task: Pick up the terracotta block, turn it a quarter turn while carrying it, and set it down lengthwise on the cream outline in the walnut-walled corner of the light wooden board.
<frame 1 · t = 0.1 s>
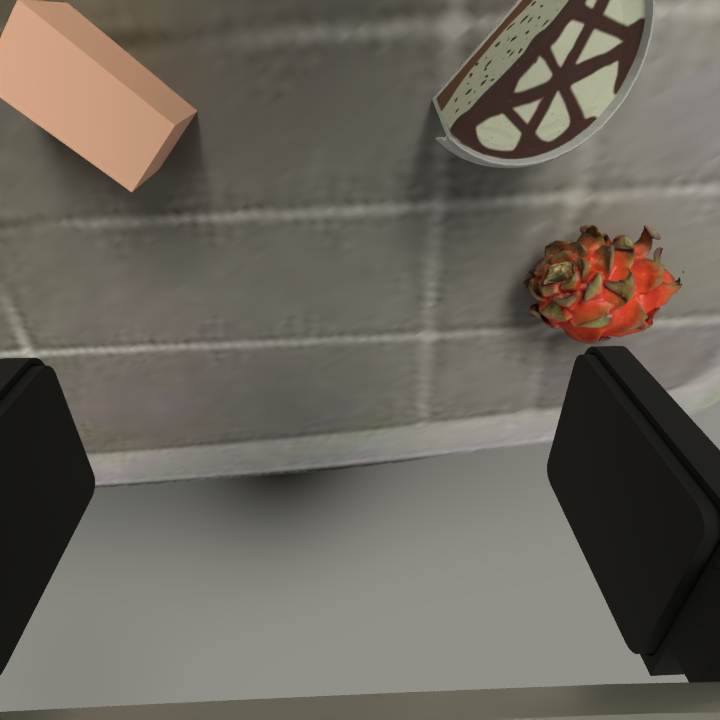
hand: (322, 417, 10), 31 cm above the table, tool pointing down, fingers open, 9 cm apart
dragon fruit: (582, 265, 42), on the table
terracotta block: (117, 92, 34), on the table
food container: (513, 75, 35), on the table
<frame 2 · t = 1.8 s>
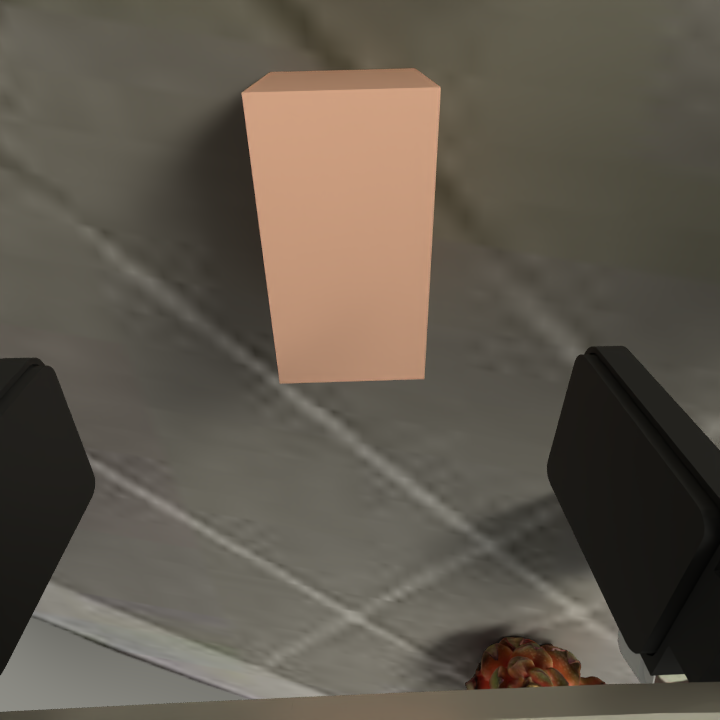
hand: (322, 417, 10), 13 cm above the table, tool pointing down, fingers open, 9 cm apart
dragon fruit: (522, 648, 40), on the table
terracotta block: (346, 200, 21), on the table
food container: (648, 515, 31), on the table
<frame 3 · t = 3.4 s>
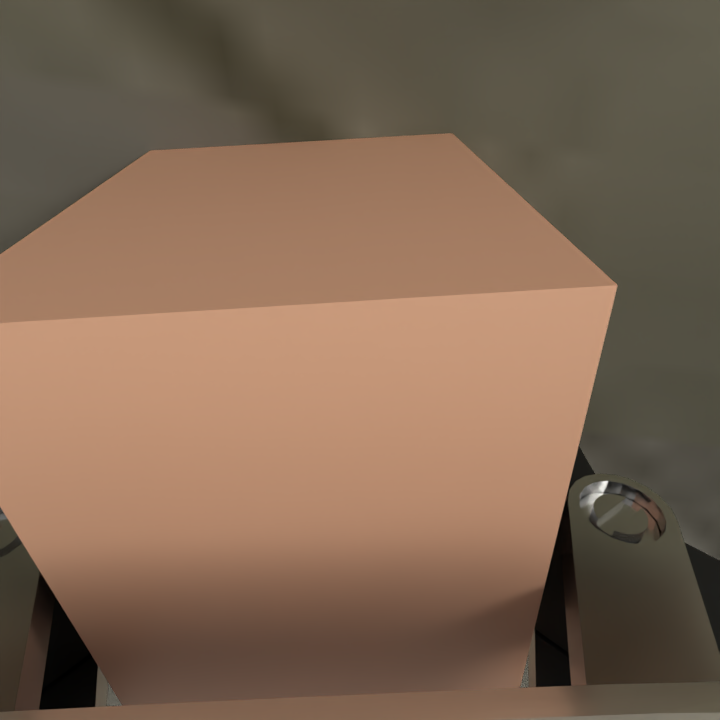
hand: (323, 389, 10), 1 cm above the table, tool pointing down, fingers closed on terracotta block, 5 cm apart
terracotta block: (324, 367, 11), on the table, touching gripper
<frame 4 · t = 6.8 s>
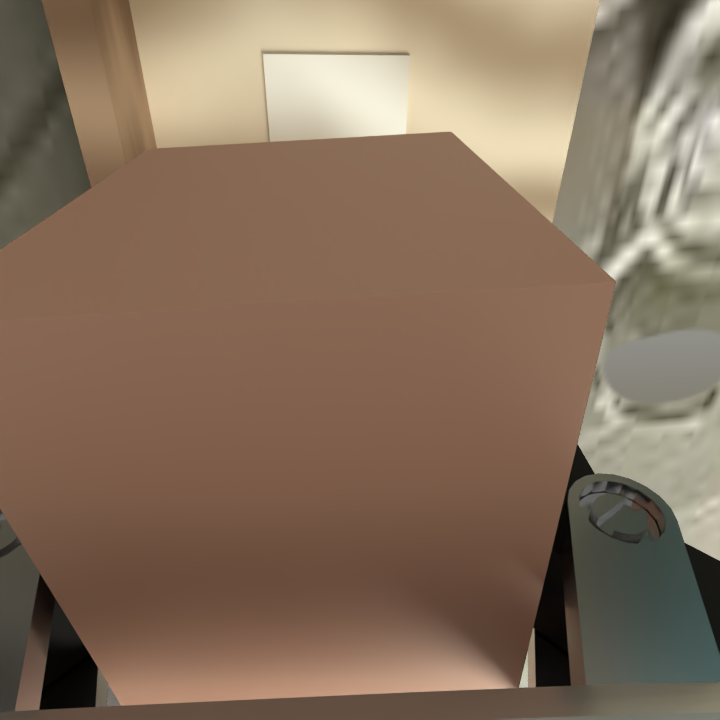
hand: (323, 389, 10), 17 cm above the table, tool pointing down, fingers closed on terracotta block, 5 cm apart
terracotta block: (323, 366, 11), point 17 cm above the table, touching gripper
corner arena: (338, 174, 25), on the table
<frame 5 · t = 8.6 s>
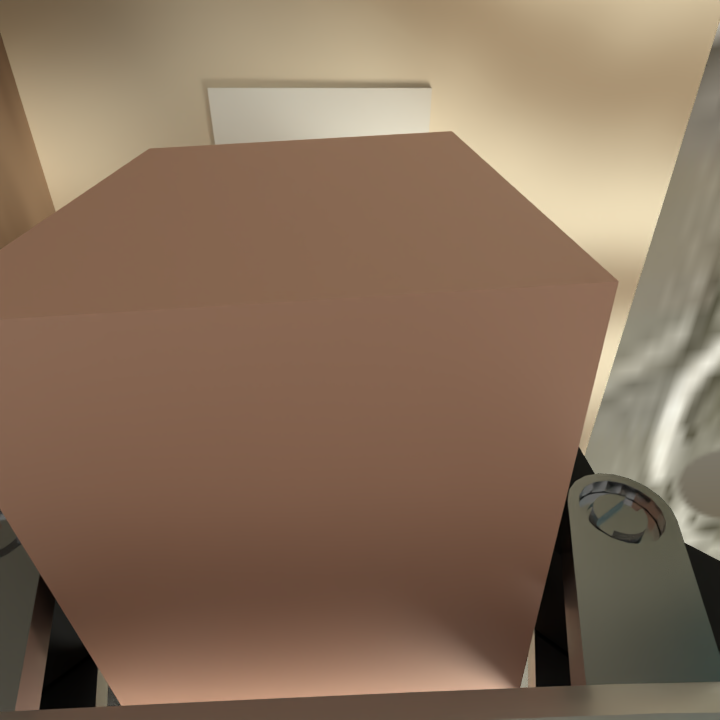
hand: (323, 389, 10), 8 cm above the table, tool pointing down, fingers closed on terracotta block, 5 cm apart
terracotta block: (323, 366, 11), point 8 cm above the table, touching gripper
corner arena: (326, 251, 18), on the table
when the fingers open (3 cm above the table, at t = 10.1 s): terracotta block stays where it is, resting on corner arena.
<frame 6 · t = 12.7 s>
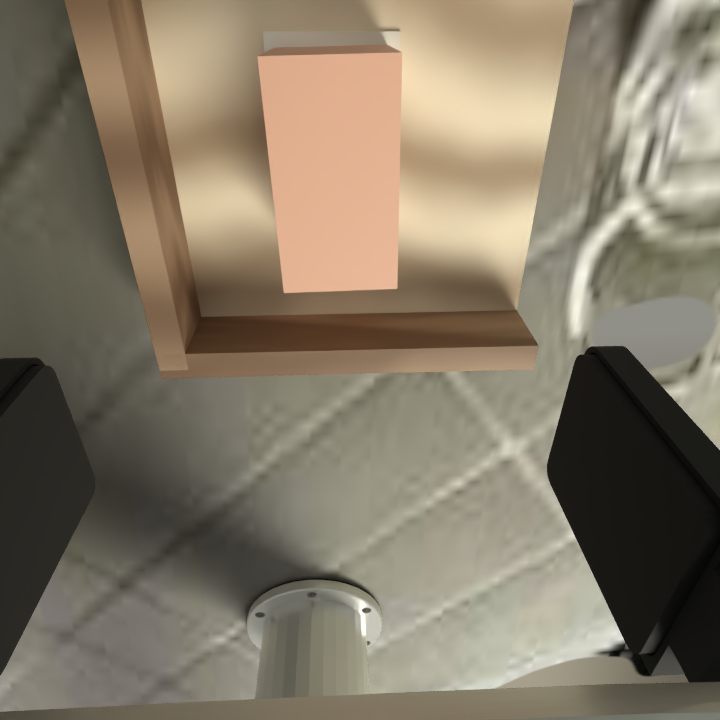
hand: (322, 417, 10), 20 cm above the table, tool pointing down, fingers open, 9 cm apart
terracotta block: (335, 153, 25), point 1 cm above the table, touching corner arena
corner arena: (335, 147, 26), on the table
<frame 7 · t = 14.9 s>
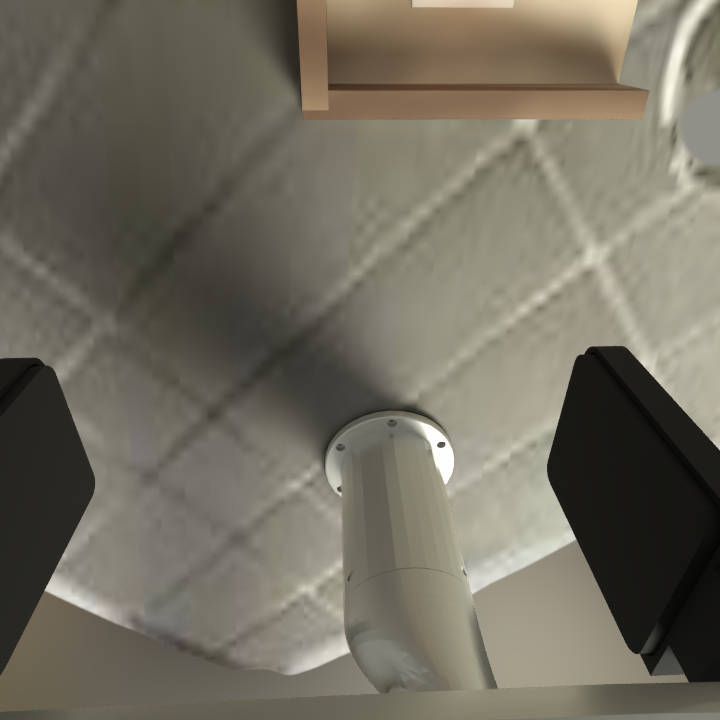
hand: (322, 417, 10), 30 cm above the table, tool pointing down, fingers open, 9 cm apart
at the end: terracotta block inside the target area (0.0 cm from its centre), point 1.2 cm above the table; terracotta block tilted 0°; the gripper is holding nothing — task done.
